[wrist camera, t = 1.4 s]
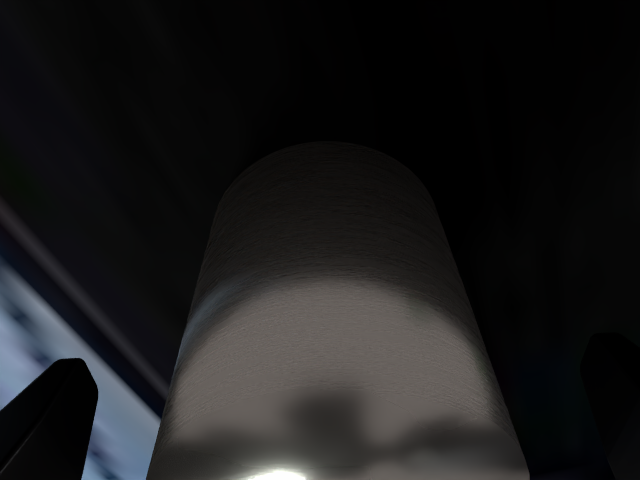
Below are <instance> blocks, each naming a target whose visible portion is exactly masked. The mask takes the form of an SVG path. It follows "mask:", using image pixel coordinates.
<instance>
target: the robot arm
mask: <svg viewBox="0 0 640 480" xmlns="http://www.w3.org/2000/svg"><path fill="white" fill-rule="evenodd" d="M580 373H581V378H582V381H583V384H584V387H585V390H586V394H587V397H588V400H589V403H590V406H591V410H592V413H593V416H594V419H595V422H596V426H597V429H598V432H599V435H600V438H601V442H602V445H603V448H604V451H605V454H606V457H607V459H608V462H609V464H610V467H611V469H612V472H613V474H614V476H615V479H616V480H640V348H639V347H638V346H637V345H635V344H634V343H632V342H631V341H630V340H628V339H627V338H626V337H624V336H623V335H621V334H619V333H597V334H594V335H593V336H592V337H591V338H590V340H589V343H588V346H587V348H586V351H585V353H584V356H583V359H582V361H581V365H580ZM97 401H98V388H97V385H96V383H95V381H94V379H93V377H92V375H91V373H90V371H89V369H88V367H87V365H86V363H85V361H84V360H82V359H81V358H68V359H59V360H57V361H55V362H54V363H53V364H52V365H51V366H49V367H48V368H47V369H46V370H45V371H44V372H43V373H42V374H41V375H39V376H38V377H37V378H36V379H35V380H34V381H33V382H32V383H31V384H29V385H28V386H27V387H26V388H25V389H24V390H23V391H22V392H21V393H19V394H18V395H17V396H16V397H15V398H14V399H13V400H12V401H11V402H10V403H8V404H7V405H6V406H5V407H4V408H3V409H2V410H1V411H0V480H81V478H82V474H83V470H84V465H85V460H86V455H87V450H88V446H89V441H90V436H91V431H92V426H93V421H94V416H95V411H96V406H97Z"/></svg>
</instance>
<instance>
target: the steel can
mask: <svg viewBox="0 0 640 480" xmlns="http://www.w3.org/2000/svg"><path fill="white" fill-rule="evenodd" d="M146 480H530V475H529V471H528V468H527V464H526V461H525V458H524V455H523V452H522V450H521V447H520V444H519V441H518V438H517V436H516V433H515V430H514V427H513V424H512V421H511V419H510V416H509V413H508V410H507V407H506V404H505V402H504V399H503V396H502V393H501V390H500V388H499V385H498V382H497V379H496V376H495V373H494V371H493V368H492V365H491V362H490V359H489V357H488V354H487V351H486V348H485V345H484V342H483V340H482V337H481V334H480V331H479V328H478V326H477V323H476V320H475V317H474V314H473V311H472V309H471V306H470V303H469V300H468V297H467V295H466V292H465V289H464V286H463V283H462V280H461V278H460V275H459V272H458V269H457V266H456V264H455V261H454V258H453V255H452V252H451V249H450V247H449V244H448V241H447V238H446V235H445V232H444V230H443V227H442V224H441V221H440V218H439V216H438V213H437V210H436V207H435V204H434V202H433V200H432V198H431V196H430V194H429V192H428V190H427V189H426V187H425V186H424V185H423V183H422V182H421V181H420V179H419V178H418V177H417V176H416V175H415V174H414V173H413V172H412V171H411V170H410V169H408V168H407V167H406V166H404V165H403V164H402V163H400V162H399V161H398V160H396V159H394V158H392V157H390V156H388V155H387V154H385V153H382V152H380V151H377V150H375V149H372V148H370V147H366V146H362V145H358V144H354V143H346V142H338V141H318V142H310V143H302V144H298V145H294V146H290V147H286V148H283V149H281V150H278V151H275V152H273V153H271V154H269V155H267V156H265V157H263V158H261V159H259V160H257V161H256V162H255V163H253V164H252V165H250V166H249V167H248V168H246V169H245V170H244V171H243V172H242V173H241V174H240V175H239V176H238V177H237V178H236V179H235V180H234V181H233V182H232V183H231V185H230V186H229V187H228V189H227V190H226V191H225V193H224V195H223V197H222V199H221V200H220V202H219V205H218V208H217V210H216V213H215V217H214V220H213V224H212V228H211V232H210V236H209V240H208V243H207V247H206V251H205V255H204V259H203V263H202V266H201V270H200V274H199V278H198V282H197V286H196V289H195V293H194V297H193V301H192V305H191V309H190V312H189V316H188V320H187V324H186V328H185V331H184V335H183V339H182V343H181V347H180V351H179V354H178V358H177V362H176V366H175V370H174V374H173V377H172V381H171V385H170V389H169V393H168V397H167V400H166V404H165V408H164V412H163V416H162V420H161V423H160V427H159V431H158V435H157V439H156V443H155V446H154V450H153V454H152V458H151V462H150V465H149V469H148V473H147V477H146Z"/></svg>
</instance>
